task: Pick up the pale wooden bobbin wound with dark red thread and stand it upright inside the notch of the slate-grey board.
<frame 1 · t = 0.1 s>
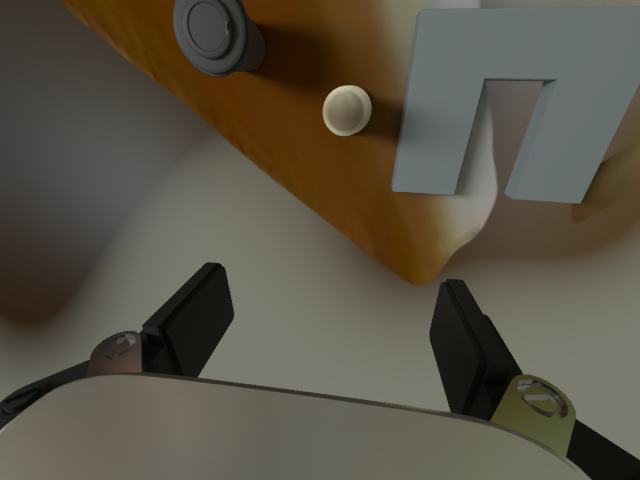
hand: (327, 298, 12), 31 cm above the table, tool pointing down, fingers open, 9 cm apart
notched board: (499, 115, 34), on the table
bobbin: (349, 110, 36), on the table
coffee cup: (246, 47, 35), on the table
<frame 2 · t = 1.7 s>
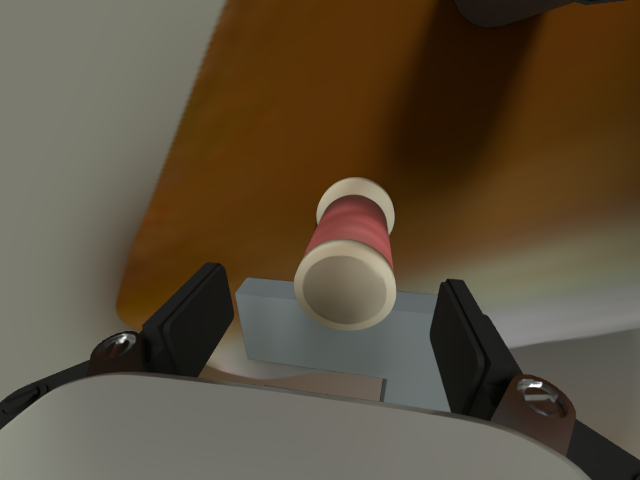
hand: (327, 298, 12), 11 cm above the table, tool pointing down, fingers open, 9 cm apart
notched board: (347, 376, 29), on the table
bobbin: (355, 214, 21), on the table
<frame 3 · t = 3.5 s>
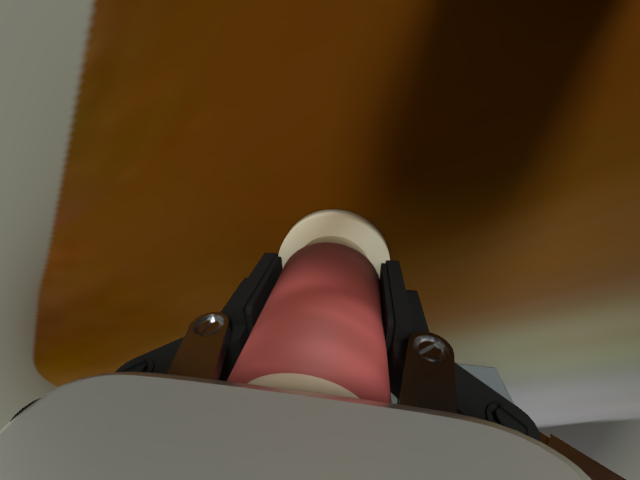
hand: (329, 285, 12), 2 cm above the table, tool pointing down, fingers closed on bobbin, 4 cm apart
notched board: (332, 448, 23), on the table
bobbin: (334, 259, 14), on the table, touching gripper
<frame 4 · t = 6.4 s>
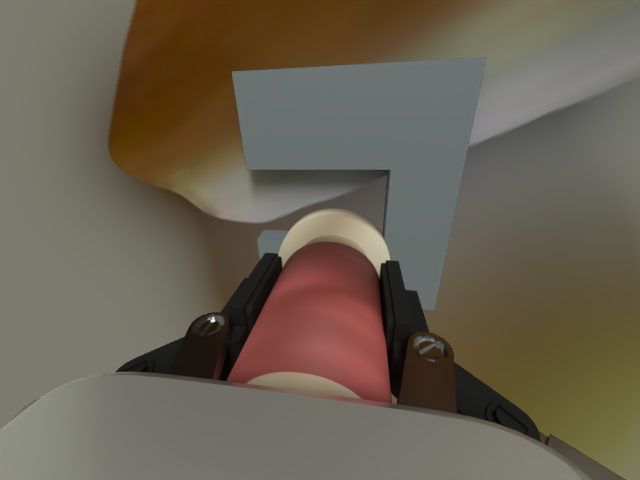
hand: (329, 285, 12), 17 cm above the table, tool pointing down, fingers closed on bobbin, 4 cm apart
notched board: (349, 200, 28), on the table
bobbin: (334, 258, 14), point 15 cm above the table, touching gripper
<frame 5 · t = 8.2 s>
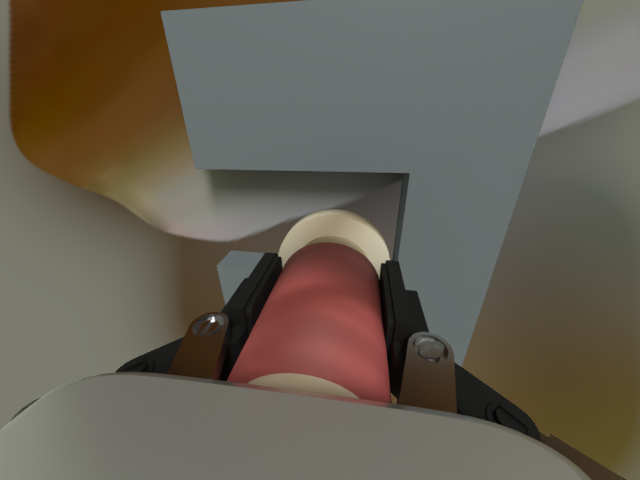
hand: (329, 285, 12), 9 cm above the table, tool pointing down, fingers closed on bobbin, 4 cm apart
notched board: (346, 215, 20), on the table
bobbin: (334, 259, 14), point 6 cm above the table, touching gripper
when the fingers open (4 cm above the table, at t = 9.5 s): bobbin drops 1 cm, resting in notched board.
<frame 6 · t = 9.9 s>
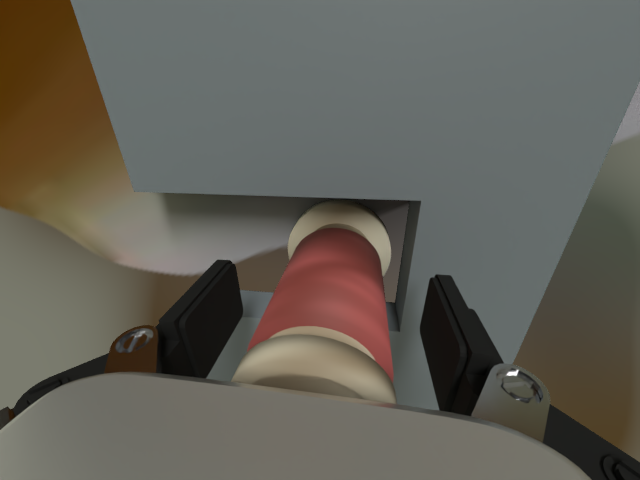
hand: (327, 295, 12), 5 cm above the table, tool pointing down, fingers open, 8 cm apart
notched board: (336, 247, 16), on the table
bobbin: (339, 246, 16), resting in notched board
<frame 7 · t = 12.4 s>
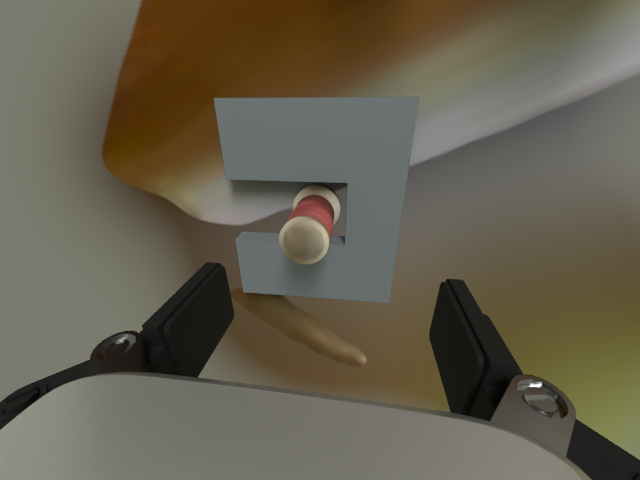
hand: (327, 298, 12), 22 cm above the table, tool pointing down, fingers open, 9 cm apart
notched board: (316, 207, 33), on the table
bobbin: (317, 207, 33), resting in notched board
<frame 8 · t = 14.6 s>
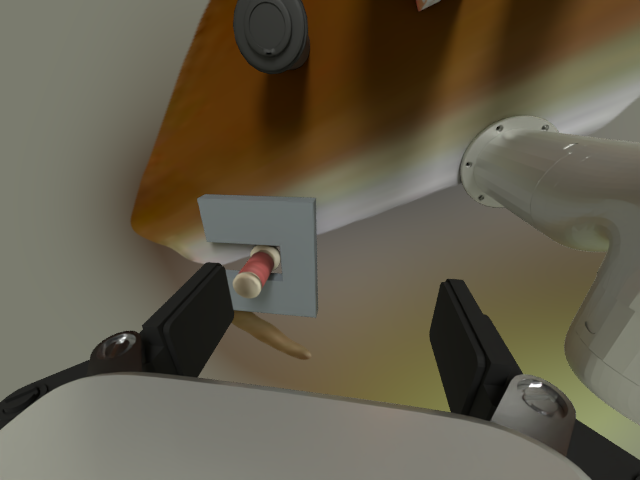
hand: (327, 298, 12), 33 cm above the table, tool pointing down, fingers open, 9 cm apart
notched board: (265, 256, 51), on the table
bobbin: (266, 256, 51), resting in notched board
coffee cup: (290, 46, 36), on the table
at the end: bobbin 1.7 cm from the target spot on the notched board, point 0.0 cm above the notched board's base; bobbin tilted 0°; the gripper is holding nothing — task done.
